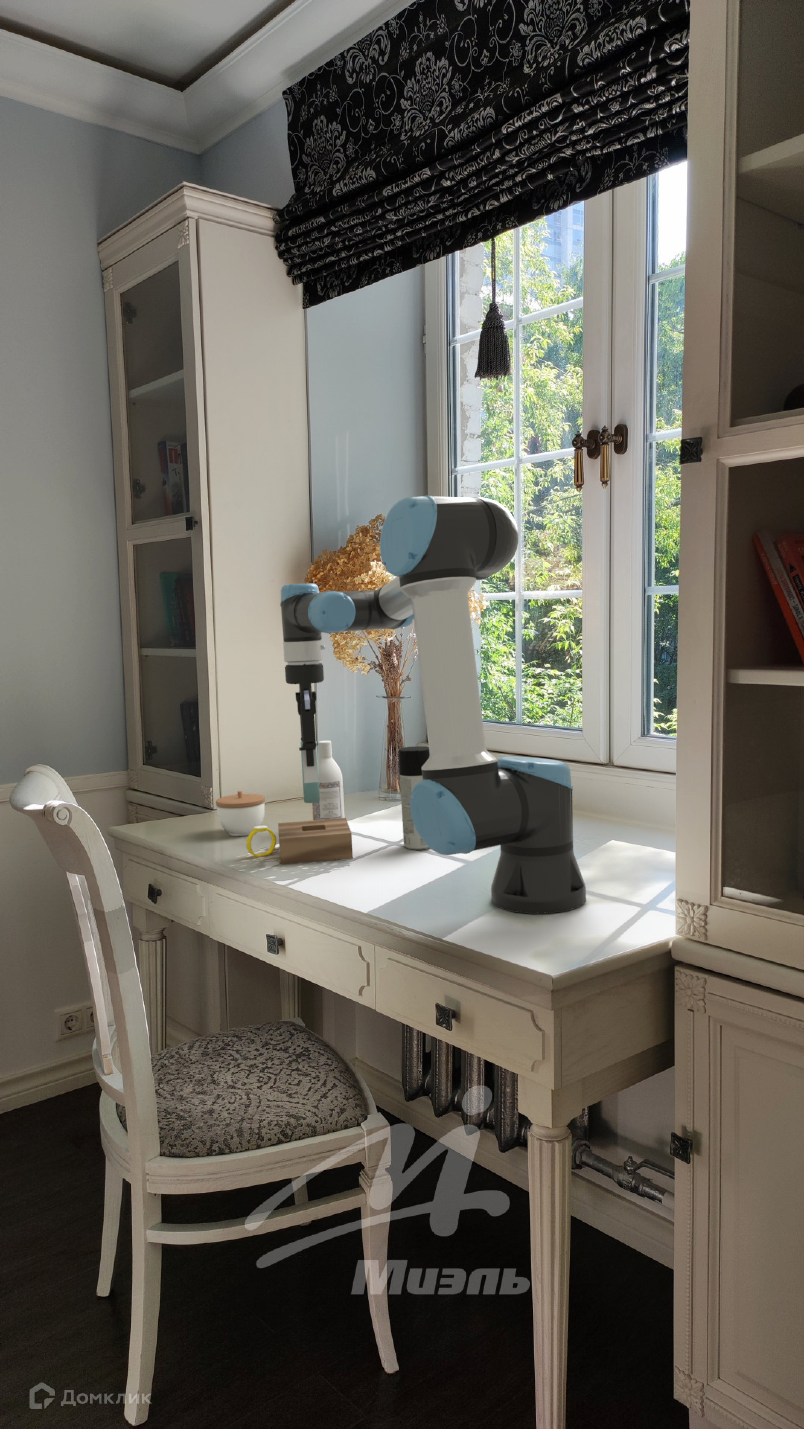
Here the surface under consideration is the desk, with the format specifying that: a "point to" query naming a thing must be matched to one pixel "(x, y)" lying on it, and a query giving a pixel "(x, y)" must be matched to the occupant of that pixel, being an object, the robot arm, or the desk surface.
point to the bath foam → (329, 786)
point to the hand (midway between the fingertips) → (310, 780)
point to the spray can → (409, 777)
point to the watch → (261, 829)
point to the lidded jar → (240, 812)
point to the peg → (311, 786)
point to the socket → (314, 840)
